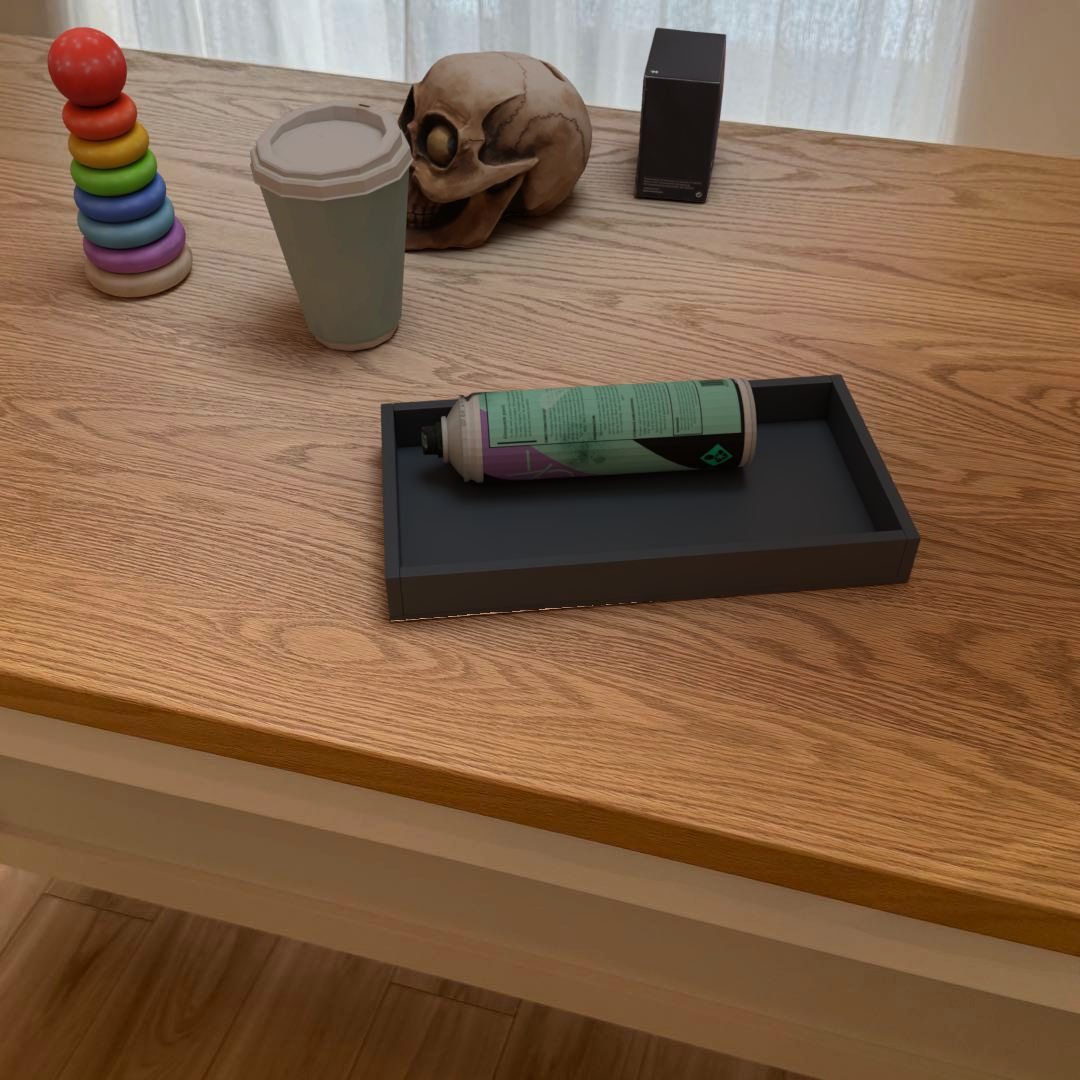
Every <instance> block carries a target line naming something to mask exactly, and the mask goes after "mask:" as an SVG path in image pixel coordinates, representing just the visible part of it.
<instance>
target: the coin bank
mask: <svg viewBox="0 0 1080 1080" xmlns="http://www.w3.org/2000/svg"><path fill="white" fill-rule="evenodd" d="M406 96H407V97H406V98H405V102H404V103H403V107H402V110H401V112H400V113H399V116H398V118H397V120H396V121H397V123H398V126H399V128H400V129H401V130H402V132H403V134H404V136H405V138H406V140H407V142H408V144H409V146H410V150H411V155H412V158H413V162H412V163H411V164H410V166H409V180H408V199H407V218H406V238H405V251H411V250H413V251H414V250H415V251H420V250H425V249H427V248H429V249H437V250H444V249H447V248H463V249H471V248H477V247H479V246H482V245H483V243H484V242H485V241H486V240H487V239H488V238H489V237H490V236H491V234H492V232H493V230H494V229H495V227H496V225H497V224H498V222H499V220H500V219H502V218H506V217H509V216H520V217H521V216H522V217H528V216H529V217H531V216H533V217H535V216H537V217H538V216H543V215H546V214H547V213H549V212H551V211H552V210H554V209H555V208H556V207H557V206H558V205H559V204H561V203H562V202H563V201H564V200H566V198H568V197H569V195H570V194H571V192H572V191H573V189H574V188H575V186H576V185H577V183H578V182H579V180H580V178H581V177H582V175H583V173H584V172H585V170H586V168H587V165H588V162H589V159H590V153H591V149H592V141H593V126H592V122H591V118H590V113H589V111H588V109H587V105H586V103H585V102H584V100H583V97H582V95H581V94H580V93H579V91H578V89H577V88H576V86H574V84H573V83H572V82H571V80H569V78H568V77H566V75H565V74H563V73H562V72H561V71H560V70H559V69H558V68H557V67H556V66H555V65H553V64H552V63H550V62H547V61H546V60H542V59H538V58H535V57H533V56H530V55H528V54H525V53H520V52H515V51H504V50H503V51H496V50H495V51H494V50H493V51H481V52H480V51H479V52H478V51H477V52H463V53H462V52H461V53H453V54H449V55H445V56H443V57H441V58H439V59H438V60H437V61H435V62H434V63H433V64H432V65H431V67H430V68H429V69H428V71H426V73H425V75H424V77H423V78H422V79H421V81H419V82H413V83H412V85H411V87H410V90H409V92H408V94H407V95H406Z"/></svg>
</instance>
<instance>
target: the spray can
mask: <svg viewBox="0 0 1080 1080" xmlns="http://www.w3.org/2000/svg"><path fill="white" fill-rule="evenodd" d="M747 380H748V379H747V378H745V377H740V378H738V377H732V378H731V377H730V378H716V379H715V378H713V379H712V378H711V379H697V380H678V381H676V380H675V381H660V382H641V383H640V382H639V383H624V384H607V385H606V384H605V385H586V386H569V387H551V388H550V387H549V388H534V389H531V388H530V389H516V390H515V389H513V390H496V391H479V392H478V391H477V392H471V393H470V394H468V395H467V396H465V394H459V395H458V399H459V400H458V401H457V402H456V403H455V405H454V406H453V408H452V409H451V411H450V412H449V414H448V416H447V418H446V417H445V416H442V417H441V422H436V426H428V427H422V428H421V434H422V447H423V454H424V455H438V458H444V462H445V463H448V461H450V462H451V464H452V465H453V467H454V468H455V469H456V470H457V472H458V473H459V474H460V475H461V476H462V477H464V482H469V480H471V479H472V480H474V481H476V482H477V483H482V482H498V481H515V480H532V479H548V478H565V477H581V476H598V475H615V474H631V473H648V472H665V471H681V470H698V469H715V468H731V467H742V466H749V465H750V464H751V463H752V460H753V457H754V453H755V448H756V433H757V427H756V410H755V403H754V397H753V393H752V389H751V386H750V384H749V382H748V381H747Z"/></svg>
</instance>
